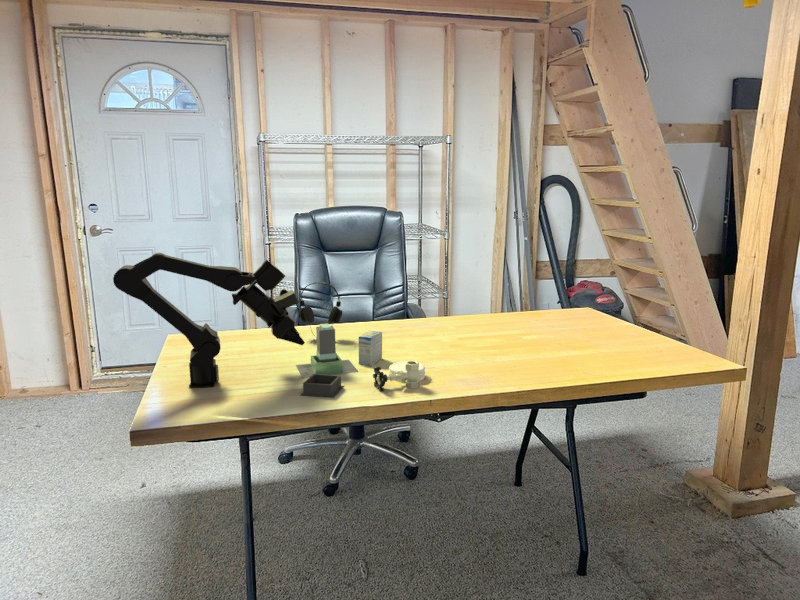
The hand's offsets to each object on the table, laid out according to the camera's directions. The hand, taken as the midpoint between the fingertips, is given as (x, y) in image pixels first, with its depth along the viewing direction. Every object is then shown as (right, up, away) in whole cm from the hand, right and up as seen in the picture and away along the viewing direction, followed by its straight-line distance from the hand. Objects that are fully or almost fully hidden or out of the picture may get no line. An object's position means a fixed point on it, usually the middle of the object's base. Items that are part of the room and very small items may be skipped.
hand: (301, 339), depth 159 cm
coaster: (+30, -11, -2) cm, 32 cm away
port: (+7, -9, +4) cm, 12 cm away
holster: (+8, -13, -13) cm, 20 cm away
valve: (+27, -12, -10) cm, 32 cm away
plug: (+7, -9, +4) cm, 12 cm away
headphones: (0, -3, +36) cm, 36 cm away
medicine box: (+19, -8, +12) cm, 24 cm away
